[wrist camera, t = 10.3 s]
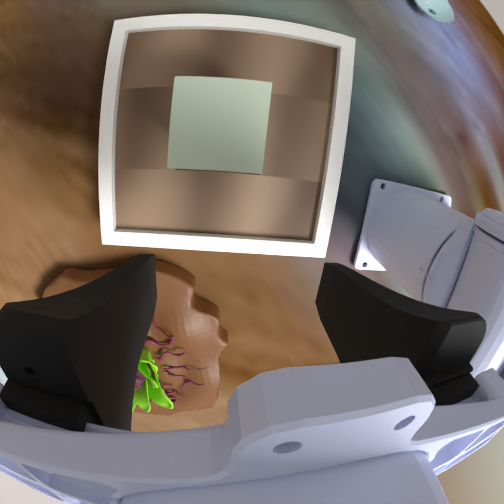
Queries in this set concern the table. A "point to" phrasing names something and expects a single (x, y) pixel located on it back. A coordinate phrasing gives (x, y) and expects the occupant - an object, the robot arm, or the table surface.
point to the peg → (218, 124)
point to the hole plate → (223, 182)
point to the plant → (170, 342)
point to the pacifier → (437, 9)
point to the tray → (218, 240)
